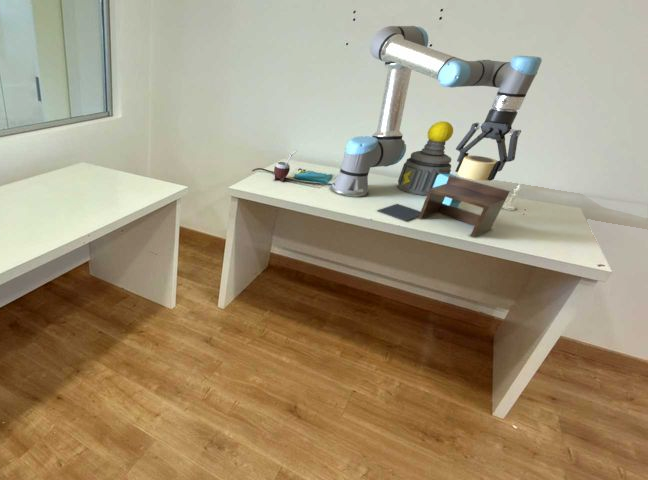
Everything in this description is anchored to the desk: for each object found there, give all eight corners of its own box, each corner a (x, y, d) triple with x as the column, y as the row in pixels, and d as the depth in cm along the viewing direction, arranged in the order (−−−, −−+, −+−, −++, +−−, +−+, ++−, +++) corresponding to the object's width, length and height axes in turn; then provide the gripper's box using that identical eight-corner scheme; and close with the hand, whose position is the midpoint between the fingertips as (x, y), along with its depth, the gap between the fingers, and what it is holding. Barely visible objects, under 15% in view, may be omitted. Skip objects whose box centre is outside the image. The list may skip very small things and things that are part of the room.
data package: (457, 210, 168) (469, 181, 161) (447, 210, 167) (459, 182, 161) (436, 199, 178) (448, 172, 171) (427, 199, 177) (438, 172, 171)
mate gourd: (269, 178, 200) (275, 147, 192) (283, 176, 202) (289, 146, 194) (278, 183, 194) (284, 151, 186) (292, 181, 196) (298, 150, 188)
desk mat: (377, 211, 166) (377, 210, 166) (397, 204, 172) (397, 203, 172) (406, 221, 157) (406, 220, 157) (425, 214, 164) (426, 213, 163)
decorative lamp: (386, 184, 194) (409, 118, 178) (418, 181, 199) (442, 116, 182) (418, 198, 179) (446, 127, 163) (452, 194, 183) (482, 124, 167)
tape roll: (451, 174, 147) (459, 157, 144) (465, 170, 152) (472, 153, 148) (482, 182, 140) (490, 164, 137) (495, 177, 145) (504, 160, 141)
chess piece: (512, 206, 172) (524, 183, 166) (516, 210, 168) (529, 187, 162) (498, 204, 173) (510, 182, 168) (502, 209, 169) (514, 185, 164)
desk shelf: (418, 217, 160) (432, 181, 152) (435, 211, 166) (450, 175, 158) (473, 237, 146) (493, 197, 138) (490, 229, 152) (510, 191, 144)
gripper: (461, 104, 140) (436, 168, 152) (541, 116, 124) (505, 186, 136) (472, 103, 143) (446, 165, 156) (551, 114, 127) (515, 182, 140)
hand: (473, 175), depth 146 cm, fingers closed on tape roll, 10 cm apart
